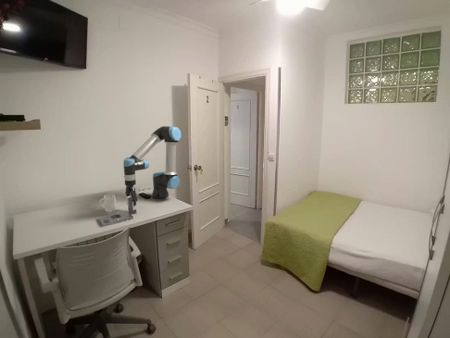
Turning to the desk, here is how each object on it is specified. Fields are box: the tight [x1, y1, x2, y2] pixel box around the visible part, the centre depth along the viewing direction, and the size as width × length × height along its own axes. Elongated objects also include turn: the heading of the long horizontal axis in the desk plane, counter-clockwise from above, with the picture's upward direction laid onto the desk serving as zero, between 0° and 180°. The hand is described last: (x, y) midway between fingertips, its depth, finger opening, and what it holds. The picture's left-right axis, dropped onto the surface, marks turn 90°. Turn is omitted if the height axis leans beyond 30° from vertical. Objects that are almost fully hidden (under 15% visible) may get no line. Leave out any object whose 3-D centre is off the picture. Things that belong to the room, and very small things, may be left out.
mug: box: [99, 193, 118, 213], centre depth 180 cm, size 12×8×12 cm
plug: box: [127, 195, 137, 216], centre depth 175 cm, size 4×4×14 cm
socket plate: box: [97, 210, 134, 228], centre depth 165 cm, size 20×14×3 cm
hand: (131, 206), depth 175 cm, fingers open, 13 cm apart
